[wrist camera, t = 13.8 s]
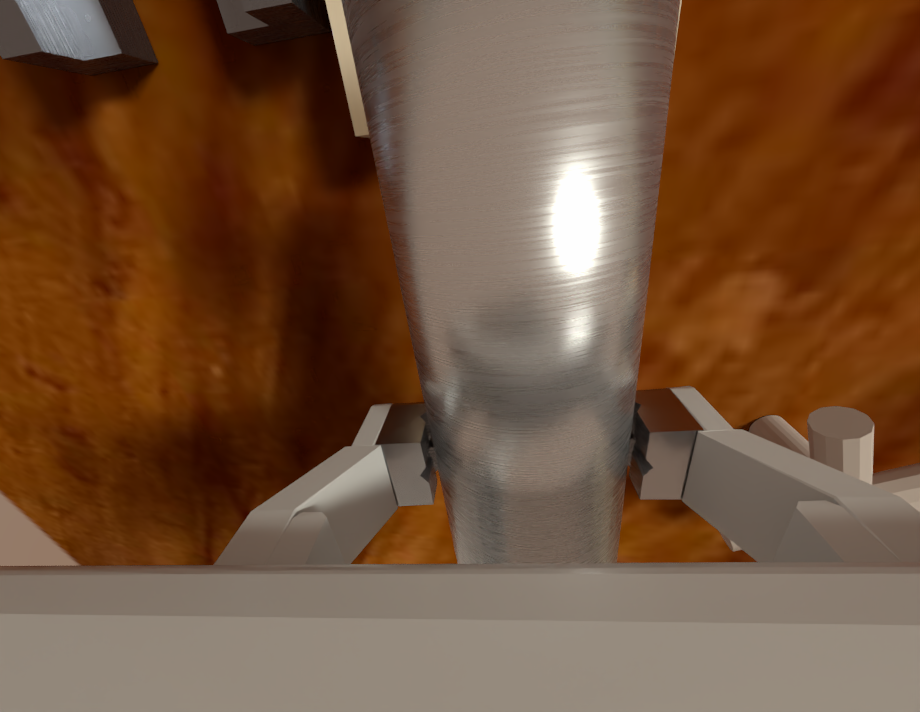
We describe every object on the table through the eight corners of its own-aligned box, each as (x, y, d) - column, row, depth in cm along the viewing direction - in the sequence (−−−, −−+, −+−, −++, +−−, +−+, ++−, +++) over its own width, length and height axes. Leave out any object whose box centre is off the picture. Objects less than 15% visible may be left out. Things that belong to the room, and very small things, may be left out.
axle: (595, 473, 12) (641, 625, 8) (461, 476, 12) (444, 616, 9) (630, -113, 6) (878, -639, 2) (373, -51, 7) (190, -360, 3)
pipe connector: (870, 461, 21) (1133, 675, 13) (689, 504, 24) (804, 704, 15) (874, 320, 17) (1269, 494, 8) (655, 391, 20) (787, 578, 11)
